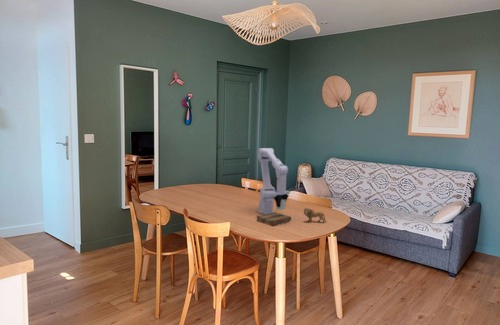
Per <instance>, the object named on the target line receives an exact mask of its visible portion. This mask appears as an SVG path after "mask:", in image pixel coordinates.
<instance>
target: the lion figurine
mask: <svg viewBox="0 0 500 325" xmlns="http://www.w3.org/2000/svg"><path fill="white" fill-rule="evenodd" d="M303 214H304V216H306V218H308V220H307V221H308V222H309V223H312V222H313V221H312V220H313V218H319V219H318V220H317V222H320V221H322V222H321V223H322V224H325V222H327V220H326V217H325V214H324V213H323V212H322V211H314V210H313V209H311V208H309V207H304V208H303Z"/></svg>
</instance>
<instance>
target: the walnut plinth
mask: <svg viewBox="0 0 500 325" xmlns="http://www.w3.org/2000/svg"><path fill="white" fill-rule="evenodd" d="M256 221H257V222H259V221H260V222H259V223H262V222H263V224H265V223H266V225H268V224H269V225H268V226H271V225H272V227H276V226H279V225H278V224H280V225H283V224H285V223H286V222H287V223H289V221H291V222H292V216H289V215H286V214H283V213H278V212H275V211H273V213H269V214H261V215H257V216H256ZM282 223H283V224H282ZM287 223H286V224H287ZM275 225H276V226H275Z"/></svg>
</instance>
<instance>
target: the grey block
mask: <svg viewBox="0 0 500 325" xmlns="http://www.w3.org/2000/svg"><path fill="white" fill-rule="evenodd" d="M286 202H287V200H285V199H281V203H280V207H277V205H276V204H275V205H276V210H280V211H283V210H286Z"/></svg>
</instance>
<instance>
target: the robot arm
mask: <svg viewBox="0 0 500 325" xmlns="http://www.w3.org/2000/svg"><path fill="white" fill-rule="evenodd" d="M257 158H258V162H260V168H261V169H260V170H261V178H262V184H263V186H262V187H261V188H260V190H259V198H260V200H259V202H258V211H257V213H259V214H262V215H265V214H269V213H273V212H274V201H275V205H277V207H280V203H281V199H285V200H286V201H287V200H288V198H289V196H290V193H291V192H290V190H287V176H288V174H289V167H288V166H287V165H285V164H284V163H283V162H282V161H281V160H280V159H279V158H277V156H276V155H275V150H274V148H272V147H268V148H267V147H263V148H261V147H259V148H258V150H257ZM270 161H271V165H272V166H273V168H274V169H275V174H276V189H275V187H274V186H272V184H271V176H270V168H269V162H270Z"/></svg>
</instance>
